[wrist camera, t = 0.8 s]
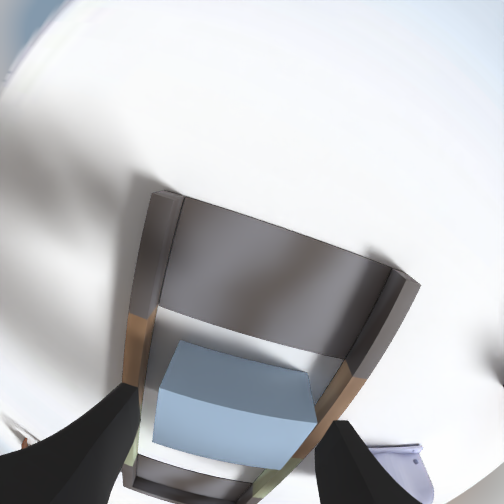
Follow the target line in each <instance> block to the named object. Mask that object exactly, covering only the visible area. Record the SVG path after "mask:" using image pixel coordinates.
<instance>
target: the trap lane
mask: <svg viewBox="0 0 504 504" xmlns="http://www.w3.org/2000/svg"><path fill="white" fill-rule="evenodd" d="M183 200H184V196H182V195H179V194H176V193H172V192H169V191H166V190H164V191H159V192H155V193H152V195H151V199H150V203H149V207H148V211H147V216H146V220H145V224H144V229H143V233H142V238H141V243H140V248H139V253H138V258H137V263H136V269H135V274H134V280H133V286H132V293H131V299H130V306H129V314H128V322H127V330H126V340H125V350H124V362H123V376H122V383H126V384H129V385H132V386H136V387H138V391H139V405H140V417H141V409H142V400H143V392H144V385H145V377H146V370H147V364H148V357H149V351H150V345H151V339H152V334H153V328H154V323H155V317H156V312H157V307H158V302H159V297H160V292H161V288H162V283H163V279H164V274H165V270H166V265H167V261H168V257H169V253H170V249H171V245H172V241H173V237H174V233H175V229H176V225H177V221H178V218H179V214H180V210H181V207H182V203H183ZM390 271H391V272H390ZM389 273H390V274H389ZM388 275H389V276H388ZM387 277H388V278H387ZM386 279H387V281H386ZM385 282H386V283H385ZM384 284H385V285H384ZM383 286H384V287H383ZM420 287H421V285H420V284H419V283H418V282H417V281H415V280H414V279H413V278H412V277H410V276H409V275H408V274H406V273H404V272H401V271H399V270H396V269H394V268H392V270H391V267H388V266H386V265H383V264H381V263H378V262H375V261H373V260H370V259H367V258H365V257H362V256H359V255H357V254H354V253H351V252H348V251H346V250H343V249H340V248H337V247H335V246H332V245H329V244H326V243H324V242H321V241H318V240H315V239H312V238H309V237H307V236H304V235H301V234H298V233H295V232H292V231H289V230H286V229H284V228H281V227H278V226H275V225H272V224H269V223H266V222H263V221H260V220H257V219H254V218H251V217H248V216H245V215H242V214H239V213H236V212H233V211H230V210H226V209H223V208H220V207H217V206H214V205H211V204H208V203H205V202H201V201H198V200H195V199H192V198H189V197H186V198H185V201H184V205H183V208H182V212H181V215H180V219H179V223H178V226H177V230H176V234H175V238H174V242H173V246H172V250H171V254H170V258H169V262H168V267H167V271H166V275H165V280H164V284H163V289H162V293H161V298H160V303H159V306H161V307H163V308H166V309H169V310H172V311H175V312H177V313H180V314H183V315H186V316H189V317H192V318H195V319H198V320H201V321H204V322H207V323H210V324H213V325H216V326H219V327H223V328H226V329H229V330H232V331H236V332H239V333H242V334H246V335H249V336H253V337H256V338H260V339H263V340H267V341H271V342H274V343H278V344H282V345H286V346H289V347H293V348H297V349H301V350H305V351H310V352H314V353H318V354H322V355H327V356H331V357H336V358H340V359H345V360H344V362H343V363H342V365H341V366H340V368H339V370H338V371H337V373H336V375H335V376H334V378H333V379H332V381H331V382H330V384H329V385H328V387H327V389H326V390H325V392H324V393H323V395H322V396H321V398H320V399H319V400H318V402H317V403H316V405H315V406H314V408H315V413H316V418H317V425H316V426H315V427H314V429H313V430H312V431H311V433H310V434H309V435H308V437H307V438H306V439H305V441H304V442H303V443H302V444H301V446H300V447H299V448H298V449H297V451H296V452H295V453H294V454H293V455H292V457H291V458H290V459H289V460H288V461H287V463H286V464H285V465H284V466H283V467H282V468H281V470H276V469H267V468H266V469H265V470H264V472H263V473H262V474H261V475H260V476H259V477H258V478H257V479H256V480H255V482H254V483H253V484H252V483H245V482H239V481H233V480H228V479H223V478H218V477H213V476H209V475H205V474H201V473H197V472H193V471H189V470H185V469H182V468H178V467H175V466H172V465H168V464H165V463H162V462H159V461H156V460H153V459H150V458H147V457H145V456H142V455H139V454H138V463H137V453H138V440H139V428H140V424H139V428H138V431H137V434H136V437H135V440H134V443H133V445H132V447H131V449H130V451H129V453H128V455H127V457H126V460H125V462H124V464H123V466H122V476H123V486H124V487H126V488H129V489H132V490H134V491H137V492H140V493H143V494H146V495H148V496H152V497H155V498H158V499H161V500H164V501H168V502H171V503H175V504H257V503H258V502H259V501H261V500H262V499H263V498H264V497H265V496H266V495H267V494H268V493H270V492H271V491H272V490H273V489H274V488H275V487H276V486H277V485H278V484H279V483H280V482H281V481H282V480H283V479H284V478H285V477H286V476H288V475H289V474H290V473H291V472H292V471H293V469H294V468H295V467H296V466H297V465H298V464H299V463H300V462H301V461H302V460H303V459H304V458H305V457H306V456H307V455H308V454H309V453H310V452H311V450H312V449H313V448H314V447H315V446H316V445H317V444H318V443H319V441H320V440H321V439H322V438H323V436H324V435H325V433H326V431H327V430H328V428H329V427H330V425H331V424H332V422H333V420H338V418H339V417H340V416H341V415H342V413H343V412H344V411H345V409H346V408H347V407H348V406H349V404H350V403H351V402H352V400H353V399H354V397H355V396H356V395H357V393H358V392H359V390H360V389H361V388H362V386H363V385H364V383H365V382H366V380H367V379H368V378H369V376H370V375H371V373H372V372H373V370H374V368H375V367H376V365H377V364H378V362H379V361H380V359H381V358H382V356H383V354H384V353H385V351H386V349H387V348H388V346H389V345H390V343H391V341H392V339H393V338H394V336H395V334H396V333H397V331H398V329H399V327H400V325H401V324H402V322H403V320H404V318H405V316H406V314H407V312H408V311H409V309H410V307H411V305H412V303H413V301H414V299H415V297H416V295H417V293H418V291H419V289H420ZM382 288H383V289H382ZM381 290H382V291H381ZM380 292H381V293H380ZM379 294H380V295H379ZM378 296H379V297H378ZM377 298H378V299H377ZM376 300H377V301H376ZM375 302H376V303H375ZM374 304H375V305H374ZM373 306H374V307H373ZM372 308H373V309H372ZM371 310H372V311H371ZM370 312H371V313H370ZM369 314H370V315H369ZM368 316H369V317H368ZM367 318H368V319H367ZM366 320H367V321H366ZM365 322H366V323H365ZM364 324H365V325H364ZM363 326H364V327H363ZM362 327H363V328H362ZM361 329H362V330H361ZM360 331H361V332H360ZM359 333H360V334H359ZM358 335H359V336H358ZM356 338H357V339H356ZM355 340H356V341H355ZM354 342H355V343H354ZM353 344H354V345H353ZM352 345H353V346H352ZM351 347H352V348H351ZM350 349H351V350H350ZM348 352H349V353H348ZM347 354H348V355H347ZM346 356H347V357H346ZM345 357H346V358H345ZM136 470H137V476H136ZM251 484H252V485H251ZM250 485H251V486H250Z"/></svg>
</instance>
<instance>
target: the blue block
mask: <svg viewBox="0 0 504 504" xmlns="http://www.w3.org/2000/svg"><path fill="white" fill-rule="evenodd" d="M316 425H317V418H316V413H315V408H314V403H313V398H312V393H311V388H310V383H309V378H308V374H307V373H306V372H301V371H296V370H291V369H286V368H281V367H277V366H272V365H268V364H264V363H260V362H255V361H251V360H247V359H243V358H240V357H236V356H232V355H228V354H225V353H221V352H218V351H214V350H211V349H207V348H204V347H201V346H197V345H194V344H191V343H188V342H185V341H182V340H180V341H179V344H178V346H177V348H176V350H175V353H174V355H173V357H172V359H171V362H170V364H169V366H168V369H167V371H166V373H165V375H164V378H163V380H162V382H161V385H160V387H159V393H158V400H157V407H156V415H155V423H154V431H153V440H152V442H154V443H157V444H160V445H163V446H166V447H169V448H172V449H176V450H179V451H183V452H186V453H190V454H194V455H198V456H202V457H206V458H210V459H215V460H219V461H224V462H229V463H234V464H240V465H246V466H252V467H259V468H267V469H276V470H281V468H282V467H283V466H284V465H285V464H286V463H287V461H288V460H289V459H290V458H291V457H292V455H293V454H294V453H295V452H296V451H297V449H298V448H299V447H300V446H301V444H302V443H303V442H304V441H305V439H306V438H307V437H308V435H309V434H310V433H311V431H312V430H313V429H314V427H315V426H316Z"/></svg>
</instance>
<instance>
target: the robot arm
mask: <svg viewBox="0 0 504 504" xmlns="http://www.w3.org/2000/svg"><path fill="white" fill-rule="evenodd" d="M140 421H141V417H140V405H139V391H138V387H136V386H132V385H129V384H126V383H121V384H119V385H118V386H117V387H116V388H115V389H114V390H113V391H112V392H111V393H109V394H108V395H107V396H106V397H105V398H104V399H103V400H101V401H100V402H99V403H98V404H97V405H95V406H94V407H93V408H91V409H90V410H89V411H88V412H86V413H85V414H84V415H82V416H81V417H80V418H78V419H77V420H75V421H74V422H72V423H71V424H70V425H68V426H67V427H65V428H64V429H62V430H60V431H59V432H57V433H55V434H53V435H52V436H50V437H48V438H46V439H44V440H42V441H40V442H38V443H35V444H33V445H31V446H29V447H26V448H23V449H21V450H18V451H15V452H11V453H8V454H4V455H1V456H0V504H107V503H108V500H109V497H110V493H111V490H112V488H113V485H114V483H115V481H116V479H117V476H118V474H119V472H120V470H121V468H122V466H123V464H124V462H125V460H126V457H127V455H128V453H129V451H130V449H131V447H132V445H133V443H134V440H135V437H136V434H137V431H138V428H139V424H140ZM422 449H423V447H422V446H409V447H391V448H368V447H367V446H366V445H365V443H364V442H363V441H362V439H361V438H360V437H359V435H358V434H357V432H356V431H355V430H354V428H353V427H352V425H351V424H350V423H349V421H345V420H333V422H332V424H331V425H330V427H329V428H328V430H327V431H326V433H325V435H324V436H323V438H322V439H321V441H320V442H319V444H318V445H317V447H316V448H315V472H316V479H317V485H318V491H319V497H320V503H321V504H432V503H433V499H434V488H433V485H432V482H431V480H430V478H429V475H428V473H427V470H426V468H425V466H424V464H423V461H422V459H421V457H420V454H419V452H420V451H421V450H422Z"/></svg>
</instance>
